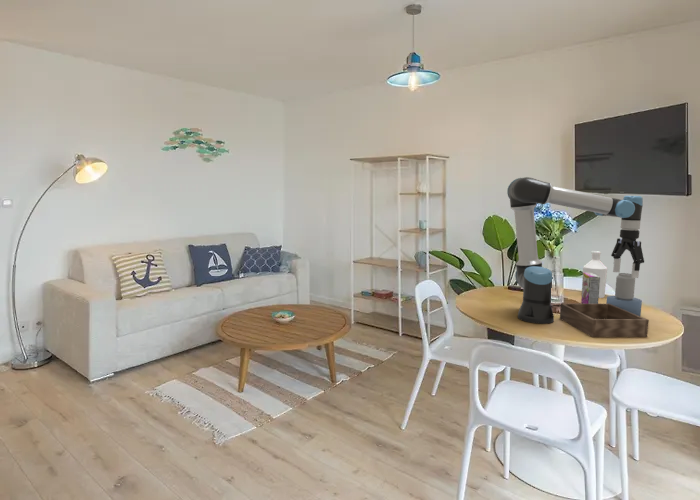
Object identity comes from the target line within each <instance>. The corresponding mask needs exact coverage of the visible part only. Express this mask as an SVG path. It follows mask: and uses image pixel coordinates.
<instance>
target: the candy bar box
mask: <svg viewBox="0 0 700 500" xmlns="http://www.w3.org/2000/svg"><path fill="white" fill-rule="evenodd" d="M582 280H583V282H582V284H581V301H580V304H599V299H600V298H599V283H600V277H599V276H597V275H595V274H594V273H583V272H582Z"/></svg>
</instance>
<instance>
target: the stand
mask: <svg viewBox="0 0 700 500" xmlns="http://www.w3.org/2000/svg"><path fill="white" fill-rule="evenodd" d="M605 304H612V305H614V306H616V307H619V308H621V309H624V310H626V311H628V312H631V313H633V314H635V315H638V316H640V317H642V316H641V314H642V304H643V301H642V299H640V298H636V297H634V298H633V299H632V300H620V299H617V298H616V297H615V295H608V296H606V302H605Z"/></svg>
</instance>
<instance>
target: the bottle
mask: <svg viewBox="0 0 700 500" xmlns="http://www.w3.org/2000/svg"><path fill="white" fill-rule="evenodd" d="M601 254H602V252H601V251H598V250H591V259H590V260H589V261H588V262H587V263H586V264H584V265H583V267H582V274H583V273H594V274H595V275H597V276H599V277H600V283H599V298H598V299H600V298H601V299H602V298H605V295H606V287H607V286H606V284H607V273H608V267H607V266H606V265H605V264H604V263H603V262H602V261H601ZM582 282H583V279H582Z"/></svg>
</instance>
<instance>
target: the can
mask: <svg viewBox="0 0 700 500" xmlns="http://www.w3.org/2000/svg"><path fill="white" fill-rule="evenodd" d="M631 275H632V273H629V272H628V273H627V272H626V273H625V272H618V275H616V282H615V292H614V296H615V297H616V298H617V299H620V300H632V299H633V298H635V289H636V288H635V287H636V278H631Z"/></svg>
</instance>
